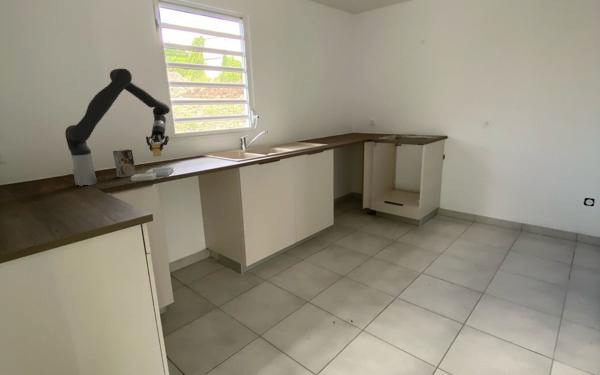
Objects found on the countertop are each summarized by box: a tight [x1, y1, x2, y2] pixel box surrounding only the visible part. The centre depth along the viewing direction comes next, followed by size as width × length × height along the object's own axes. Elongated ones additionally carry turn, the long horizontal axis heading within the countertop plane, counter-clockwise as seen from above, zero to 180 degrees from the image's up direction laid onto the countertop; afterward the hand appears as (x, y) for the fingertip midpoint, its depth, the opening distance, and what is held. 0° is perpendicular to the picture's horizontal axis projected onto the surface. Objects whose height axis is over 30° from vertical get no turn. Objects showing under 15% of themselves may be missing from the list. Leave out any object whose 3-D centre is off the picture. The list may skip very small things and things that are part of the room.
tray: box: [144, 166, 174, 178], centre depth 206 cm, size 13×13×3 cm
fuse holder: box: [130, 173, 157, 182], centre depth 193 cm, size 12×7×2 cm, turn 97°
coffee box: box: [112, 149, 137, 178], centre depth 203 cm, size 9×6×16 cm
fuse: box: [151, 142, 163, 158], centre depth 202 cm, size 5×2×8 cm, turn 97°
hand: (156, 150), depth 200 cm, fingers closed on fuse, 5 cm apart
